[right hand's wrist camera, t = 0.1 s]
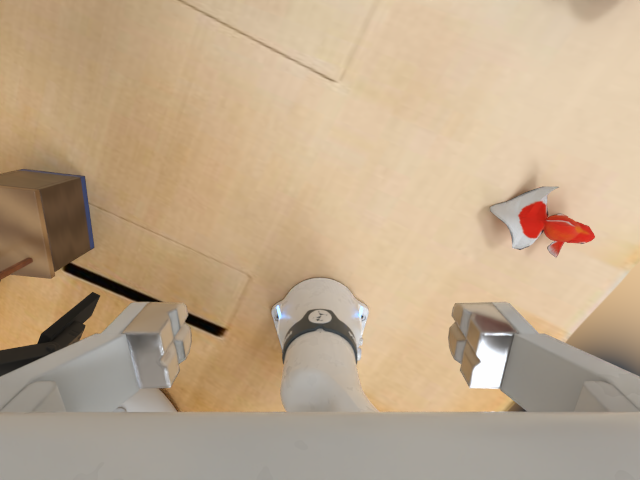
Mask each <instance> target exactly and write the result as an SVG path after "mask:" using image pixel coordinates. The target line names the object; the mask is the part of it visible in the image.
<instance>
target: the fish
mask: <svg viewBox="0 0 640 480" xmlns="http://www.w3.org/2000/svg"><path fill="white" fill-rule="evenodd" d="M556 188H558V187H540V188H537V189H534V190H531V191H528V192H525V193H523V194H521V195H519V196H517V197H515V198H513V199H511V200H509V201H507V202H503V203H499V204H496V205H493V206H491V207H490V211H491V212H492V213H493V214H494V215H495V216H497V217H498V218H499V219H500V220H501V221H503V222H504V223H505V224H506V225H507V227H508V228H509V230H510V233H511V236H512V248H515V249H519V250H521V249H523V248H526V247H528V246H530V245H531V244H532V243H534V242H535V241H536V239H537V238H538V237H539V236H540V235H541V234H542V232H543V231H544V233H545V235H546V236H547V237H548V238H549V239H551V240H553V241H554V242H553V243H551V244H550V245H549V246H548V247H547V249H548V251H549V252H550V253H551V254H552V255H553V256H555V257H557V256H558V254H559V252H560V249H561V247H562V245H563V244H564V242H567V243H580V244H584V243H587V242H589V241H592V240H593V239H594V238H595V236H594V233H593V232H592V231H591V229H590V227H589V226H587V225H584V224H582V223H579V222H575V221H574V220H572V219H570V218H568V216H566V215H564V214H561V213H559V214H557V215H553V216H550V217H548V210H547V195H548V194H549V193H550V192H551V191H553V190H554V189H556ZM547 217H548V218H547Z"/></svg>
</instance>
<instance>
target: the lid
mask: <svg viewBox="0 0 640 480" xmlns="http://www.w3.org/2000/svg"><path fill="white" fill-rule="evenodd" d="M8 275H20V276H30V277H40V278H49V279H51V278H53V277H54V276H55V272H54V267H53V261H52V256H51V251H50V245H49V240H48V235H47V229H46V224H45V218H44V213H43V208H42V202H41V197H40V192H39V190H37V189H29V188H20V187H11V186H2V185H0V281H1V279H3V278H4V277H6V276H8Z"/></svg>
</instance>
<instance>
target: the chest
mask: <svg viewBox="0 0 640 480" xmlns="http://www.w3.org/2000/svg"><path fill="white" fill-rule="evenodd" d="M0 185H2V186H11V187H20V188H29V189H37V190H39V192H40V197H41V202H42V208H43V213H44V218H45V224H46V229H47V235H48V240H49V245H50V251H51V256H52V261H53V267H54V272H55V271H57V270H59V269H60V268H62V267H63V266H65V265H67V264H68V263H70V262H72V261H73V260H75V259H76V258H78V257H80V256H81V255H83V254H84V253H86V252H88V251H89V250H91V249H93V248H94V242H93V235H92V227H91V220H90V212H89V205H88V197H87V190H86V183H85V176H78V175H70V174H61V173H52V172H44V171H35V170H26V169H21V170H17V171H12V172H7V173H3V174H0Z"/></svg>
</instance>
